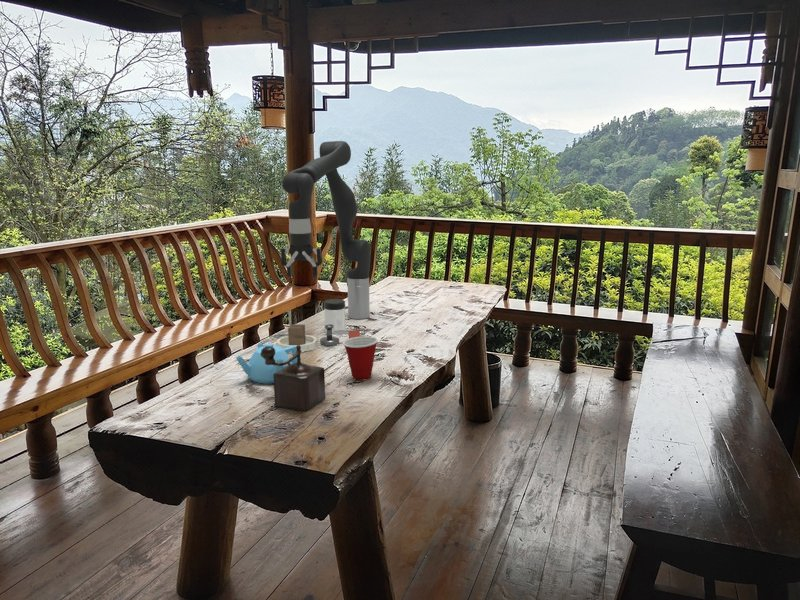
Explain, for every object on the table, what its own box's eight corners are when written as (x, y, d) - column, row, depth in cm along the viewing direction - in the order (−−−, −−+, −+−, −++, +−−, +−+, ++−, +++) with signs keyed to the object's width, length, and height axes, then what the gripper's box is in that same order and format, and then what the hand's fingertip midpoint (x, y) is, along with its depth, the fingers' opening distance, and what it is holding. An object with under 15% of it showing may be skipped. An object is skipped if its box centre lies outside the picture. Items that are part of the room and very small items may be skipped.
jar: (329, 335, 230) (329, 304, 227) (320, 330, 237) (319, 300, 234) (350, 331, 235) (349, 301, 232) (340, 326, 241) (339, 297, 239)
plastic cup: (348, 370, 191) (347, 334, 188) (381, 372, 189) (381, 335, 186) (339, 382, 180) (338, 344, 177) (374, 384, 178) (373, 345, 176)
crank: (333, 341, 218) (333, 331, 218) (333, 340, 220) (333, 330, 219) (359, 340, 220) (359, 330, 219) (359, 339, 221) (359, 329, 220)
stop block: (292, 342, 217) (291, 324, 216) (305, 343, 217) (304, 324, 215) (288, 347, 212) (288, 328, 211) (302, 347, 212) (302, 328, 211)
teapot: (282, 388, 175) (280, 353, 173) (236, 384, 179) (233, 349, 177) (303, 371, 190) (302, 339, 187) (260, 367, 194) (258, 335, 191)
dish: (272, 344, 218) (272, 337, 217) (309, 339, 224) (309, 333, 223) (283, 355, 205) (283, 348, 205) (322, 349, 212) (322, 342, 211)
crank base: (317, 342, 221) (316, 324, 219) (335, 339, 224) (334, 322, 222) (323, 347, 215) (323, 329, 213) (342, 344, 218) (341, 326, 216)
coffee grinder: (293, 392, 172) (290, 332, 168) (326, 398, 168) (324, 337, 164) (260, 413, 158) (256, 348, 154) (295, 420, 154) (292, 353, 150)
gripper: (322, 230, 212) (324, 275, 215) (282, 230, 212) (285, 275, 216) (318, 232, 204) (320, 279, 208) (277, 232, 205) (280, 279, 209)
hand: (302, 277), depth 212 cm, fingers open, 8 cm apart
